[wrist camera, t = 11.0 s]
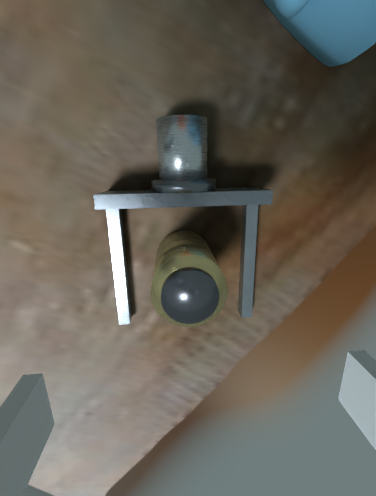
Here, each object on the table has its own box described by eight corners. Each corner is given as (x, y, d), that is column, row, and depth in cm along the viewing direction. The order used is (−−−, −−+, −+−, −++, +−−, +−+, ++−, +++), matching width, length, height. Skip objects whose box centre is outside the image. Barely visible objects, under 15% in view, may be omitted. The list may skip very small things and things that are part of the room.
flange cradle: (100, 126, 24) (79, 112, 18) (257, 124, 25) (282, 110, 19) (121, 317, 30) (110, 349, 24) (248, 310, 31) (265, 340, 25)
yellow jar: (155, 231, 27) (147, 262, 18) (210, 229, 28) (230, 258, 18) (158, 282, 29) (152, 335, 20) (210, 280, 29) (228, 330, 20)
